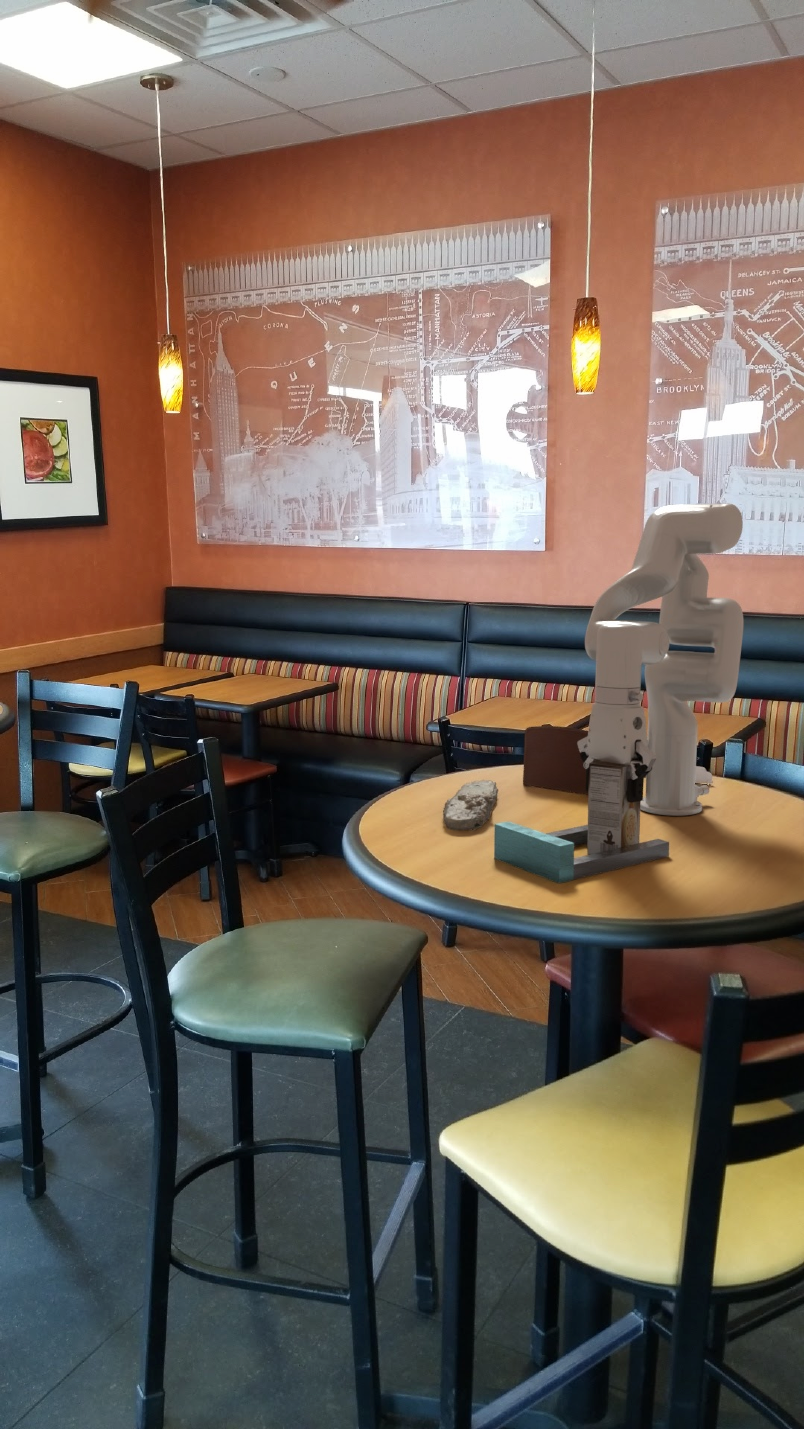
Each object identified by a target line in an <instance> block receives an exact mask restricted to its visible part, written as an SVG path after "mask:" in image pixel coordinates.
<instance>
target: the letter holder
mask: <svg viewBox="0 0 804 1429" xmlns="http://www.w3.org/2000/svg"><path fill="white" fill-rule="evenodd" d="M587 736H588V730H585V729H581V728H580V729H579V728H576V727H575V728H573V727H566V726H554V725H553V726H552V725H540V726H539V725H538V726H536V725H535V726H529V727H526V728H525V731H524V747H523V748H524V749H523V750H524V752H523V775H522V785H523V786H524V787H525V786H526V787H533V788H540V789H544V790H553V791H558V792H564V793H572V794H577V795H585V796H588V792H587V791H586V769H585V768H584V762H583V760H582V759H581V757H580V753H581V752H580V751H579V748H578V745H577V742H578V741H579V740H581V739H583V738H585V737H587Z"/></svg>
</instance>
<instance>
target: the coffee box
mask: <svg viewBox="0 0 804 1429" xmlns="http://www.w3.org/2000/svg"><path fill="white" fill-rule="evenodd" d="M631 761H632V760H631ZM634 768H635V770H637V769H636V767H635V766H634ZM630 778H631V777H630V775H629V773H628V771H627V769H626V766H623V765H619V764H615V763H611V762H606V761H602V760H595V761H593V762H591V763H589V792H588V795H587V796H588V798H587V806H588V807H587V825H588V841H587V844H586V845H587V846H586V847H587V849H586V850H587V851H586V852H587V855H590V854H594V853H598V852H603V851H607V850H611V849H616V848H620V847H624V846H629V845H633V844H637V843H640V835H641V834H640V829H641V828H640V827H641V826H640V825H641V809H640V802H641V801H638V802H632V803H630V802H628V801H627V783H628V779H630Z"/></svg>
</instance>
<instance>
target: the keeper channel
mask: <svg viewBox="0 0 804 1429" xmlns="http://www.w3.org/2000/svg"><path fill="white" fill-rule="evenodd" d="M493 837H494V839H493V840H494V841H493V842H494V845H493V848H494V849H493V850H494V854H493V855H494V856H493V857H494V859H495V860H497V861H500V862H503V863H505V864H508V865H510V866H513V867H515V868H518V869H521V870H524V871H526V872H529V873H531V874H534V875H537V876H539V877H541V878H544V879H546V880H549V881H552V882H554V883H557V884H562V883H565V882H571V881H574V880H578V879H583V878H587V877H591V876H594V875H599V874H603V873H607V872H612V871H615V870H619V869H623V868H626V867H632V866H635V865H640V864H643V863H648V862H653V861H655V860H660V859H663V858H664V859H665V858H667V857H669V856H670V841H667V840H664V839H660V838H656V839H652V840H646V841H642V842H639V843H637V844H633V845H629V846H624V847H620V848H616V849H611V850H607V851H603V852H598V853H594V854H586V855H581V856H577V857H575V847H578V846H582V845H587V841H588V824H585V825H580V826H575V827H570V828H566V829H561V830H557V831H550V832H546V833H544V832H543V831H539V830H536V829H533V828H530V827H527V826H523V825H521V824H517V823H514V822H512V821H502V822H498V823H494V835H493Z"/></svg>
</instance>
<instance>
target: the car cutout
mask: <svg viewBox="0 0 804 1429" xmlns="http://www.w3.org/2000/svg"><path fill="white" fill-rule="evenodd" d="M695 783H707V785H708V783H709V784H710V785H711V784H713V783H714V781H713V775H712V773H711V772H710V771H707V769H706V768H705V767H703V766H697V765H696V775H695ZM708 786H709V785H708Z"/></svg>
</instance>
